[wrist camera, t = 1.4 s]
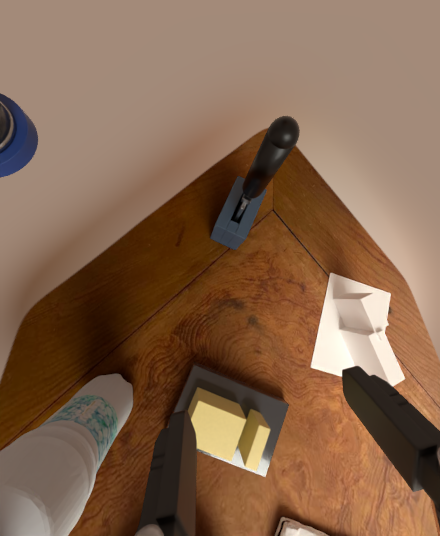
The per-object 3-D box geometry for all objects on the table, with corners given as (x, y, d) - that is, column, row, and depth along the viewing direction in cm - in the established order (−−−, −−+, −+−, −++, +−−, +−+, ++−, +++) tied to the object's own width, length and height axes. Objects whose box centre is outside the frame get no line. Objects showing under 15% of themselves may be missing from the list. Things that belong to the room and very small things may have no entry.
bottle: (96, 360, 27) (-165, 537, 7) (147, 375, 27) (37, 576, 8) (73, 416, 25) (-321, 816, 6) (126, 430, 26) (-67, 837, 6)
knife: (221, 230, 31) (265, 136, 13) (230, 210, 32) (284, 93, 14) (234, 236, 32) (295, 151, 13) (242, 216, 32) (313, 109, 14)
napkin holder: (377, 387, 32) (418, 406, 26) (310, 368, 30) (337, 384, 25) (390, 292, 34) (430, 291, 29) (329, 272, 33) (357, 266, 28)
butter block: (182, 423, 26) (181, 442, 22) (197, 386, 27) (198, 400, 23) (225, 440, 26) (231, 462, 23) (239, 404, 27) (246, 419, 24)
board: (164, 430, 27) (162, 437, 25) (193, 361, 28) (194, 365, 27) (261, 467, 28) (265, 477, 26) (284, 399, 29) (289, 404, 28)
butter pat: (237, 444, 26) (244, 467, 23) (250, 408, 27) (259, 424, 24) (247, 449, 26) (256, 471, 23) (260, 412, 27) (270, 429, 24)
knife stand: (209, 238, 31) (214, 224, 25) (229, 197, 32) (237, 175, 27) (235, 250, 31) (245, 239, 25) (253, 209, 33) (267, 189, 27)
